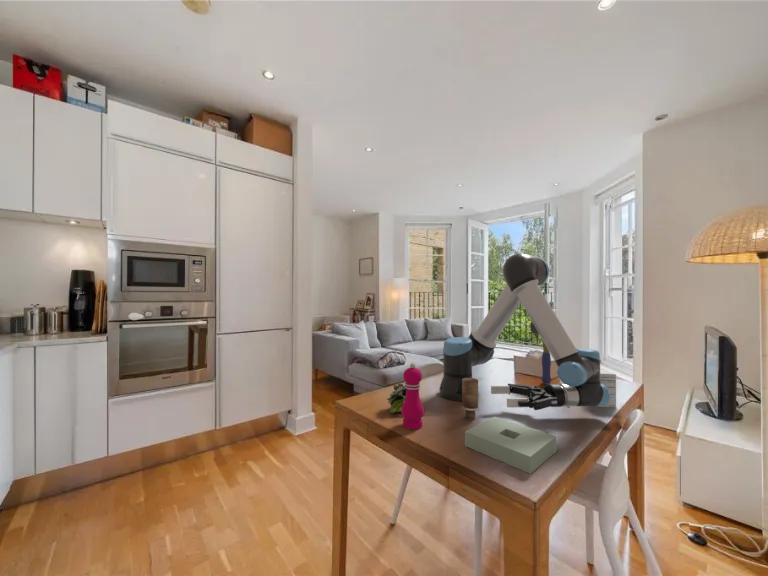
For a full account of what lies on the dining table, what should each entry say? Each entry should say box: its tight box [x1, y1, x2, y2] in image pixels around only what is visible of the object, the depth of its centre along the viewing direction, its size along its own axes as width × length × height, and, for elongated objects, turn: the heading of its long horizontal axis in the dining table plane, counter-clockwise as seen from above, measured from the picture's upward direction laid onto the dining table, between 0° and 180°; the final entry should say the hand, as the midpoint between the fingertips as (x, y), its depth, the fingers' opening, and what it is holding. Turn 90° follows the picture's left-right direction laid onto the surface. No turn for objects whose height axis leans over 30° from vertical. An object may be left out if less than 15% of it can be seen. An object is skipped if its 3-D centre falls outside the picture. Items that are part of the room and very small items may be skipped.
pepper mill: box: [400, 362, 425, 430], centre depth 101 cm, size 7×7×20 cm
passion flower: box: [386, 383, 406, 415], centre depth 114 cm, size 11×11×12 cm
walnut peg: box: [461, 377, 479, 421], centre depth 107 cm, size 5×5×13 cm
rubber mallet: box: [529, 321, 563, 385], centre depth 148 cm, size 12×8×30 cm, turn 33°
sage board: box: [464, 416, 557, 475], centre depth 86 cm, size 18×16×4 cm
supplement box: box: [595, 368, 617, 408], centre depth 121 cm, size 7×7×13 cm
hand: (498, 395), depth 107 cm, fingers open, 13 cm apart
